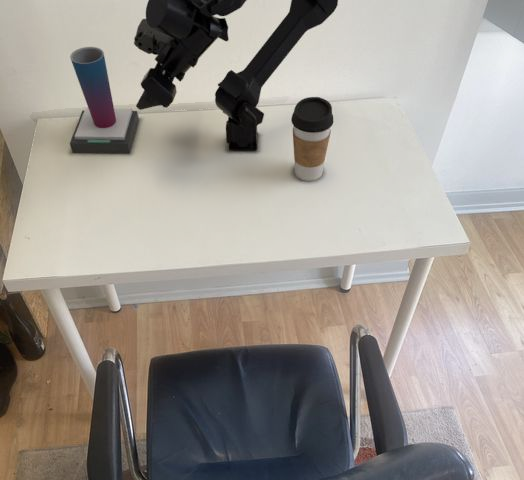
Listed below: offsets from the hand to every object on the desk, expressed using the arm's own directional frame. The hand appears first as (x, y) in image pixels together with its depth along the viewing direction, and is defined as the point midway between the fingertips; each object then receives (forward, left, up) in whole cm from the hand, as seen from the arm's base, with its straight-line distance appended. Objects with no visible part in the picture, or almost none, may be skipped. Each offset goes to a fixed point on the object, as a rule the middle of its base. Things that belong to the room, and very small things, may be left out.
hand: (143, 95), depth 111 cm
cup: (+12, -7, -11) cm, 17 cm away
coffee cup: (-35, +6, -14) cm, 38 cm away
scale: (+12, -6, -14) cm, 19 cm away
